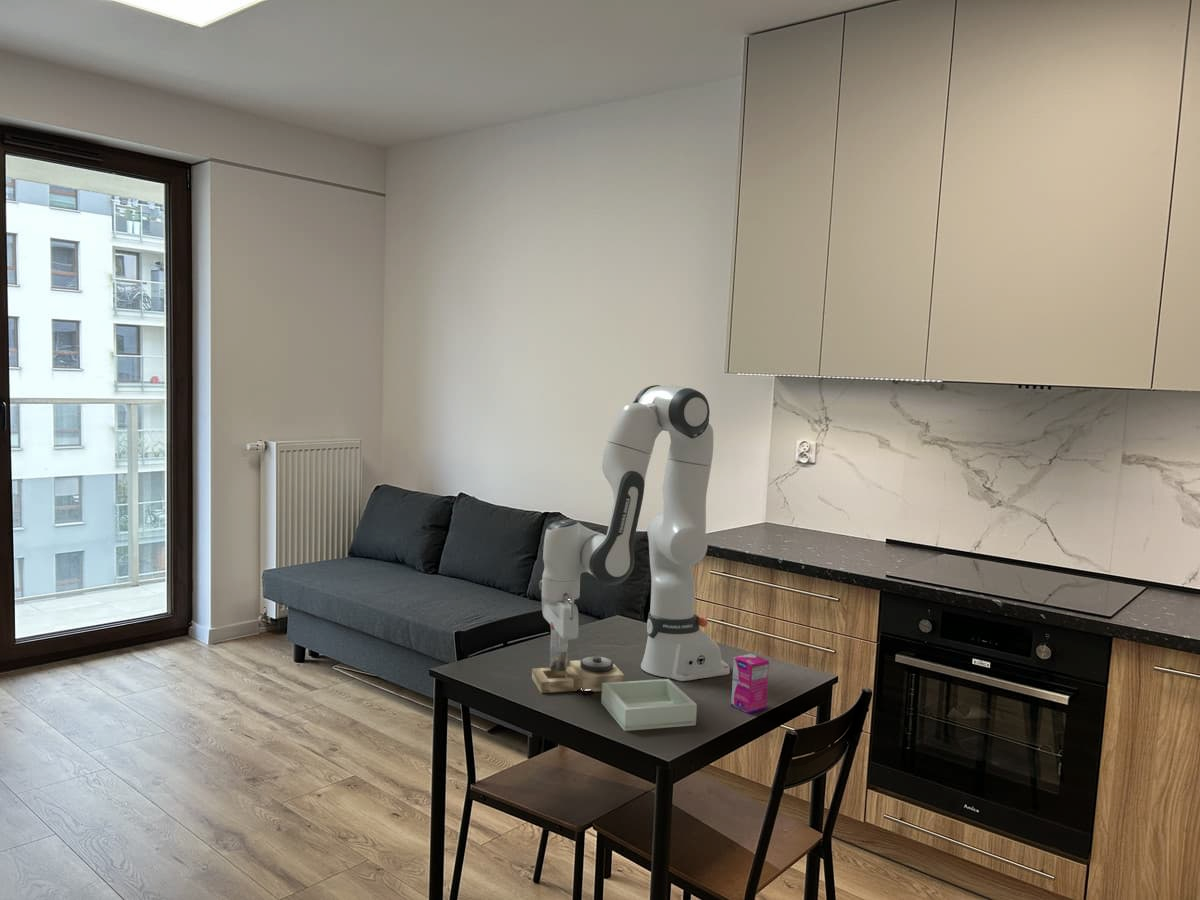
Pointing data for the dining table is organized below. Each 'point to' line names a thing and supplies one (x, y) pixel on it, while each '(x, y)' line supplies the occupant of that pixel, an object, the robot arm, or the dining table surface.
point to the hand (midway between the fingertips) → (559, 647)
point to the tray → (648, 704)
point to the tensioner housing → (578, 676)
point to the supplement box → (750, 683)
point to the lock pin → (557, 653)
